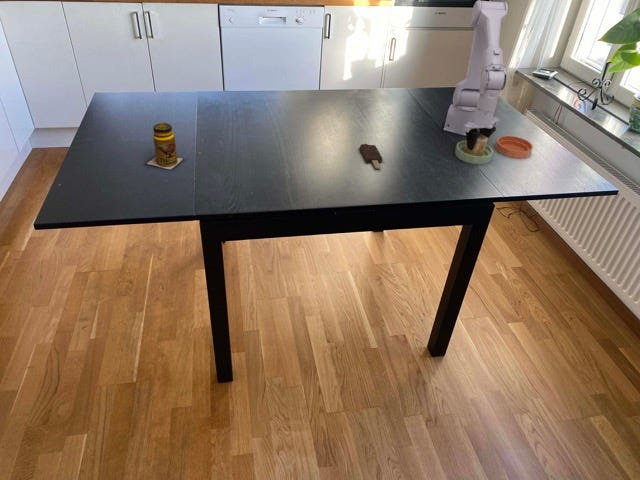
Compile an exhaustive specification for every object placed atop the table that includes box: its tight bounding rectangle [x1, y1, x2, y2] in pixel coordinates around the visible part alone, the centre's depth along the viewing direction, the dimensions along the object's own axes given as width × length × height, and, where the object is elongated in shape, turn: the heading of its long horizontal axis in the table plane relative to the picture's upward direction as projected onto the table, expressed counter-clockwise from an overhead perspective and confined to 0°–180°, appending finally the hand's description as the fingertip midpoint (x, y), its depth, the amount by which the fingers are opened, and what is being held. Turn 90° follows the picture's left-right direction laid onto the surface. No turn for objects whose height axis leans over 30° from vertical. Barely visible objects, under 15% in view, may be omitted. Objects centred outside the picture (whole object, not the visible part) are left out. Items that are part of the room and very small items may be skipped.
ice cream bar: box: [359, 143, 383, 170], centre depth 164 cm, size 5×2×15 cm
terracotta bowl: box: [494, 135, 534, 160], centre depth 174 cm, size 12×12×3 cm
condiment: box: [146, 122, 184, 170], centre depth 151 cm, size 7×8×12 cm
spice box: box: [464, 134, 489, 157], centre depth 168 cm, size 5×5×7 cm
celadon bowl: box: [454, 140, 494, 165], centre depth 169 cm, size 12×12×3 cm
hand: (475, 147), depth 168 cm, fingers closed on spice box, 4 cm apart
